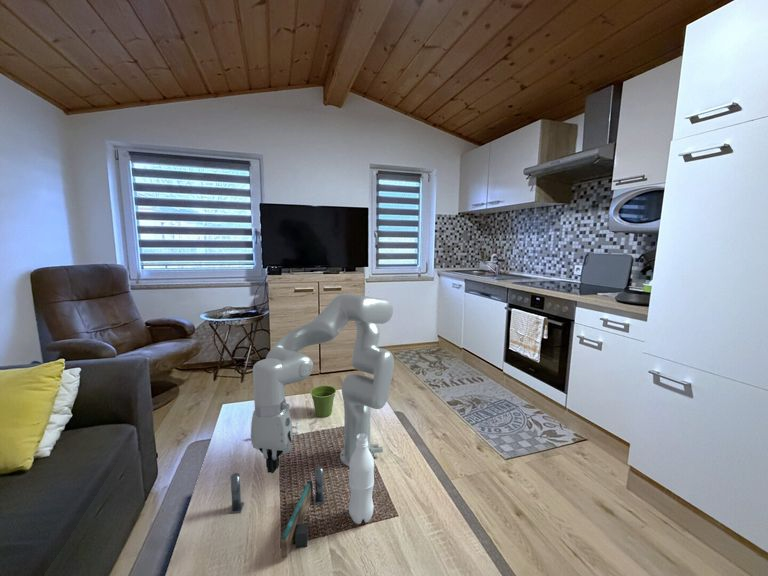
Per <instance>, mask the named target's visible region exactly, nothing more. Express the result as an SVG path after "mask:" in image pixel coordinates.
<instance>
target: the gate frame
mask: <svg viewBox="0 0 768 576" xmlns="http://www.w3.org/2000/svg"><path fill="white" fill-rule="evenodd" d="M314 478H315V479H314V491H315V493H314V495H313V506H314V505H323V504H325V498H326V497H325V493H324V466H322V465H317V466H315V467H314ZM230 488H231V489H230V490H231V491H230V492H231V506H230V510H229V511H228V513H229V515H230V514H239V513H242V510H243V508H244V505H245V503H244V501H242V499H241V498H242V497H241V475H240V473H239V472H236V473H233V474H231V475H230ZM308 542H309V523H308V522H307V523H302V524H298V525H296V532H295V540H294V543H295V544H294V545H295V549H301V548H308V546H309V545H308Z"/></svg>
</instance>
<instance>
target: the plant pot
mask: <svg viewBox="0 0 768 576" xmlns="http://www.w3.org/2000/svg"><path fill="white" fill-rule="evenodd" d="M309 393H310V396H311V398H312V401H313V406H314V412H315V415H316V416H317V417H319V418H327V417H328V416H331V415H332V412H333V406H334V399H335V396H336V393H337V389H336V387H334V386H332V385H326V384H325V385H318V386H315V387H313V388H312V389H311V390H310V392H309Z"/></svg>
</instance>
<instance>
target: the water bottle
mask: <svg viewBox="0 0 768 576" xmlns="http://www.w3.org/2000/svg"><path fill="white" fill-rule="evenodd" d="M348 467H349V471H348V472H349V478H348V479H349V480H348V487H349V490H350V498H349V504H348V513H349V514H348V515H349V517H350V518H351V519H352V521H353V523H355V524H357V525H360V524H362V521H363V522H364V523H365V524H366V523H368V522H370V520H371V519H372V517H373V514H374V507H375V505H374V502H373V491H374V486H375V478H374V477H375V475H374V474H375V461H374V459H373V457H372V455H371V453H370V451H369V449H368V441H367V435H366V434H358V435H357V441H356V449H355V451H354V453H353V454H352V456H351V458H350V462H349V466H348Z"/></svg>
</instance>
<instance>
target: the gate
mask: <svg viewBox="0 0 768 576" xmlns="http://www.w3.org/2000/svg"><path fill="white" fill-rule="evenodd" d="M313 499H314V495H313V481H312V480H311V479H310V480H309V479H308V481H307V482H306V484H305V487H304V489H303V491H302V492H301V495H300V498H299V500H298V501H297V504H296V505H295V508H294V510H293V512H292V514H291V516H290V519H289V521H288V522H287V525H286V526H285V529H284V531H283V532H282V535H281V538H280V557H281V558H288V556H289V554H290V552H291V549H292V547H293V545H294V543H295V532H296V525H298V524H303V522H304V519H305V517H306V515H307V513H308V510H309V507H310V506H311V503H312V500H313Z"/></svg>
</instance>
